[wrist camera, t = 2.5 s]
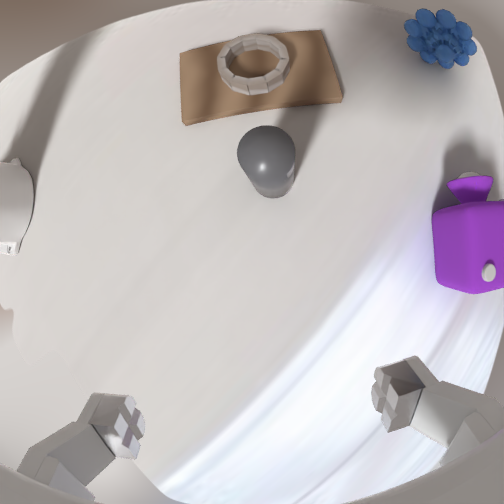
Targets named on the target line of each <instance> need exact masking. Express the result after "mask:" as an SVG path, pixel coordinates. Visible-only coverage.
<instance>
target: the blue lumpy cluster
mask: <svg viewBox="0 0 504 504" xmlns="http://www.w3.org/2000/svg"><path fill="white" fill-rule="evenodd" d="M416 19H417V20H414V19H409V20H407V21H406V22H405V23H404V28H405V30H406V31H407V33H408V34H409V36H408V38H407V44H408V46H409V47H410V48H411V49H412V50H413V51H416V52H420V56H421V58H422V59H423V60H424V61H425V62H427V63H430V64H433V63H435V62H436V61H437V60H438V62H439V64H440V65H441V66H442V67H443V68H445V69H450V68H452V66H453V65H454V61H455V62H456V63H457V64H458V65H460V66H465V65H467V64H468V62H469V56H468V55H471V56H472V55H474V54H475V53H476V51H477V46H476V44H475V42H474V41H473V40H472V39H471V37H472V30H471V28H470V27H469V26H468V25H467V24H466V23H464V22H461V21H459V22H456V19H455V17H454V15H453V14H452V13H451V12H449V11H447V10H444V9H442V10H438V11H437V13H436V17H435V16H434V14H433V13H432V12H431V11H430V10H427V9H419V10H417V12H416Z"/></svg>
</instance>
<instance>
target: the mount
mask: <svg viewBox="0 0 504 504" xmlns="http://www.w3.org/2000/svg"><path fill="white" fill-rule="evenodd" d="M180 89H181V113H182V122H183V123H184V124H185V125H186V126H188V125H192V124H196V123H200V122H205V121H209V120H214V119H219V118H224V117H229V116H234V115H239V114H245V113H251V112H257V111H264V110H271V109H278V108H286V107H294V106H304V105H315V104H328V103H341V101H342V98H343V96H342V93H341V89H340V86H339V83H338V79H337V76H336V73H335V70H334V67H333V64H332V61H331V58H330V55H329V52H328V49H327V46H326V44H325V41H324V38H323V36H322V33H321V30H315V31H298V32H287V33H277V34H269V35H264V34H259V33H254V34H248V35H242V36H240V37H239V36H238V37H237V38H235V39H233V40H232V41H227V42H222V43H217V44H213V45H209V46H205V47H201V48H197V49H193V50H189V51H186V52H182V53H180Z"/></svg>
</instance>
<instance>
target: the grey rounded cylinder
mask: <svg viewBox="0 0 504 504" xmlns="http://www.w3.org/2000/svg"><path fill="white" fill-rule="evenodd" d="M237 157H238V161H239V163H240V165H241V167H242V168H243V170H244V172H245V173H246V175H247V176H248V178H249V179H250V181H251V182H252V184H253V185H254V187H255V189H256V190H257V191H258V192H259V193H260V194H261V195H263V196H265V197H267V198H279V197H282V196H284V195H285V194H287V193H288V192H289V191H290V189H291V188H292V186H293V182H294V166H295V147H294V143H293V141H292V139H291V138H290V136H289V135H288V134H287V133H286V132H285V131H283V130H282V129H280V128H277V127H274V126H259V127H256V128H254V129H252V130H250V131H248V132H247V133H246V134H245V135H244V136H243V137H242V139H241V140H240V142H239V145H238V149H237Z"/></svg>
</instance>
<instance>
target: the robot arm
mask: <svg viewBox="0 0 504 504" xmlns="http://www.w3.org/2000/svg"><path fill="white" fill-rule="evenodd" d="M33 199H34V192H33V183H32V179H31V176H30V174H29V172H28V171H27V170H26V169H25V168H23V167H22V166H21V163H20V160H19V159H18V158H13V159H12V160H11V161H10V162H9V163H6V162H0V253H1V254H7V255H13V256H16V255H17V254H18V251H19V248H20V243H21V240H22V238H23V236H24V234H25V232H26V230H27V228H28V225H29V222H30V219H31V214H32V209H33ZM374 378H375V379H376V382H375V383H374V385H373V386H372V392H371V394H372V401H373V405H374V407H375V409H376V411H378V412H380V413H382V417H381V421H382V423H383V425H384V427H385V428H386V430H387V432H392V431H395V430H398V429H401V428H404V427H406V426H409V425H410V427H411V428H413V429H415V430H416V431H418V432H420V433H421V434H423V435H425V436H426V437H428V438H430V439H432V440H433V441H435V442H437V443H439V444H440V445H442V446H444V447H446V448H447V450H446V452H445V454H444V455H443V457H442V458H441V460H440V464H441V467H439V468H437V469H435V470H433V471H431V472H429V473H427V474H425V475H423V476H420V477H418V478H416V479H414V480H411V481H409V482H406V483H404V484H402V485H399V486H396V487H394V488H391V489H388V490H386V491H383V492H380V493H377V494H374V495H371V496H368V497H365V498H361V499H358V500H354V501H351V502H347V503H343V504H504V407H503V406H502V405H501V404H500V403H499V401H498V400H497V399H496V398H493V397H490V396H487V395H484V394H481V393H477V392H474V391H471V390H468V389H465V388H462V387H459V386H456V385H453V384H451V383H448V382H445V381H441V382H439V381H438V380H437V379H436V377H435V376H434V375H433V374H432V373H431V372H430V370H429V369H428V368H427V367H426V366H425V364H424V363H423V362H422V361H421V360H420V359H419V357H417V356H412V357H409V358H406V359H403V360H400V361H397V362H394V363H390V364H387V365H384V366H380V367H377V368H376V370H375V373H374ZM135 406H136V402H135V400H134V398H133V397H132V396H129V395H116V394H103V393H93V394H92V395H91V396H90V398H89V400H88V402H87V403H86V405H85V407H84V409H83V411H82V412H81V414H80V416H79V418H78V420H77V421H76V422H71V423H70V424H68V425H67V426H65V427H63V428H62V429H60V430H59V431H57V432H55V433H54V434H52V435H50V436H49V437H47V438H46V439H44V440H42V441H41V442H39V443H37V444H35V445H34V446H32V447H30V448H29V450H28V451H27V453H26V455H25V457H24V459H23V460H22V462H21V464H20V466H19V468H18V469H17V471H15V470H13V469H11V468H9V467H7V466H6V465H4V464H2V463H0V504H102V503H99V502H95V501H94V500H95V496H94V495H93V494H92V493H91V492H90V491H89V490H88V489H87V488H86V487H85V486H87V484H89V483H90V482H91V481H92V480H93V479H94V478H95V477H96V476H97V475H98V474H99V473H100V472H101V471H103V470H104V469H105V468H106V467H107V466H108V465H109V464H110V463H111V462H112V461H113V460H114V459H115V457H120V458H129V459H137V455H138V452H139V449H140V446H141V445H140V443H139V441H138V440H139V439H140V438H142V437H143V435H144V432H145V421H144V417H143V415H142V413H141V412H140V411H139V410H138V409H136V408H135Z"/></svg>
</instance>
